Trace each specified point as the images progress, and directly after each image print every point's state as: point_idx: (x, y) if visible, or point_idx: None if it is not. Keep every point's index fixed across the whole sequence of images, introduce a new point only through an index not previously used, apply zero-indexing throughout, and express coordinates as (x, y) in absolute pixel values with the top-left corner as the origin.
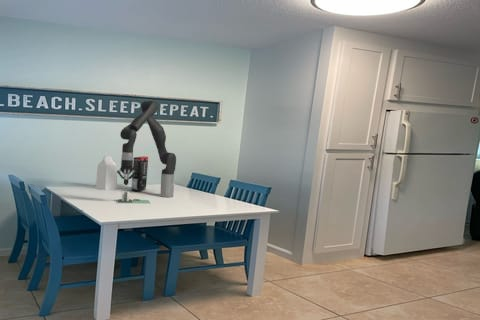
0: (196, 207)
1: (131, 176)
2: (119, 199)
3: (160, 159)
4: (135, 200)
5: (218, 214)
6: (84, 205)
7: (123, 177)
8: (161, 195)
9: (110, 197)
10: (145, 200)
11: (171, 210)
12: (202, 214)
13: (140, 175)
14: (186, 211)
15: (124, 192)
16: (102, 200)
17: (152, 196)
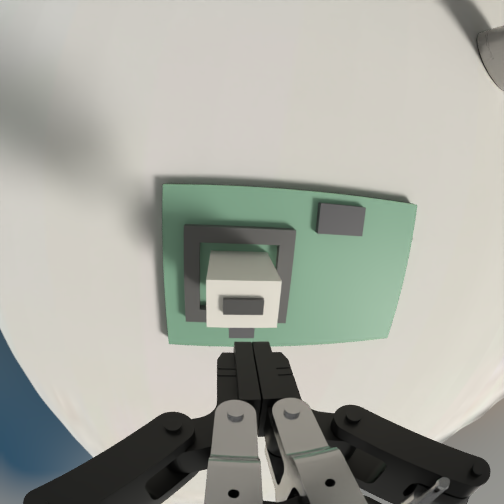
0: (493, 350)
1: (355, 472)
2: (192, 240)
3: None
4: (329, 232)
5: (464, 425)
6: (23, 340)
7: (203, 460)
8: (486, 59)
9: (158, 17)
10: (398, 226)
11: (398, 423)
12: (435, 439)
13: None
14: (429, 421)
15: (229, 312)
16: (77, 160)
17: (447, 30)
